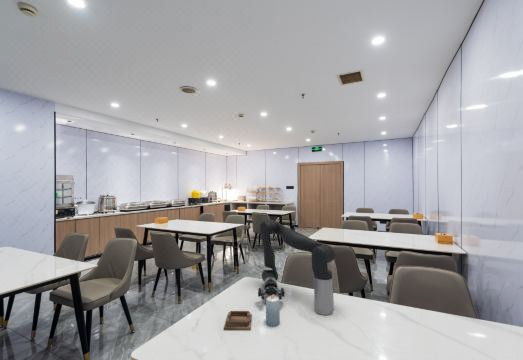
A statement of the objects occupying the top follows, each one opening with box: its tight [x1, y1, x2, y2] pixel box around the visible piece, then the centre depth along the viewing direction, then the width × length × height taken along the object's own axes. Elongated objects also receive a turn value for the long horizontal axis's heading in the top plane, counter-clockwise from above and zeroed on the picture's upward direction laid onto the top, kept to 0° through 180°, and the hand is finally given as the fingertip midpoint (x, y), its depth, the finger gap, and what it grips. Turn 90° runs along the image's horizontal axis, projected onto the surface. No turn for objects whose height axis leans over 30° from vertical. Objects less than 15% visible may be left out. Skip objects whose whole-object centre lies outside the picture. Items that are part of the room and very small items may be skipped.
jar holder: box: [223, 310, 253, 331], centre depth 115 cm, size 12×12×3 cm
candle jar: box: [265, 294, 281, 328], centre depth 115 cm, size 6×6×13 cm
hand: (271, 298), depth 126 cm, fingers open, 8 cm apart
